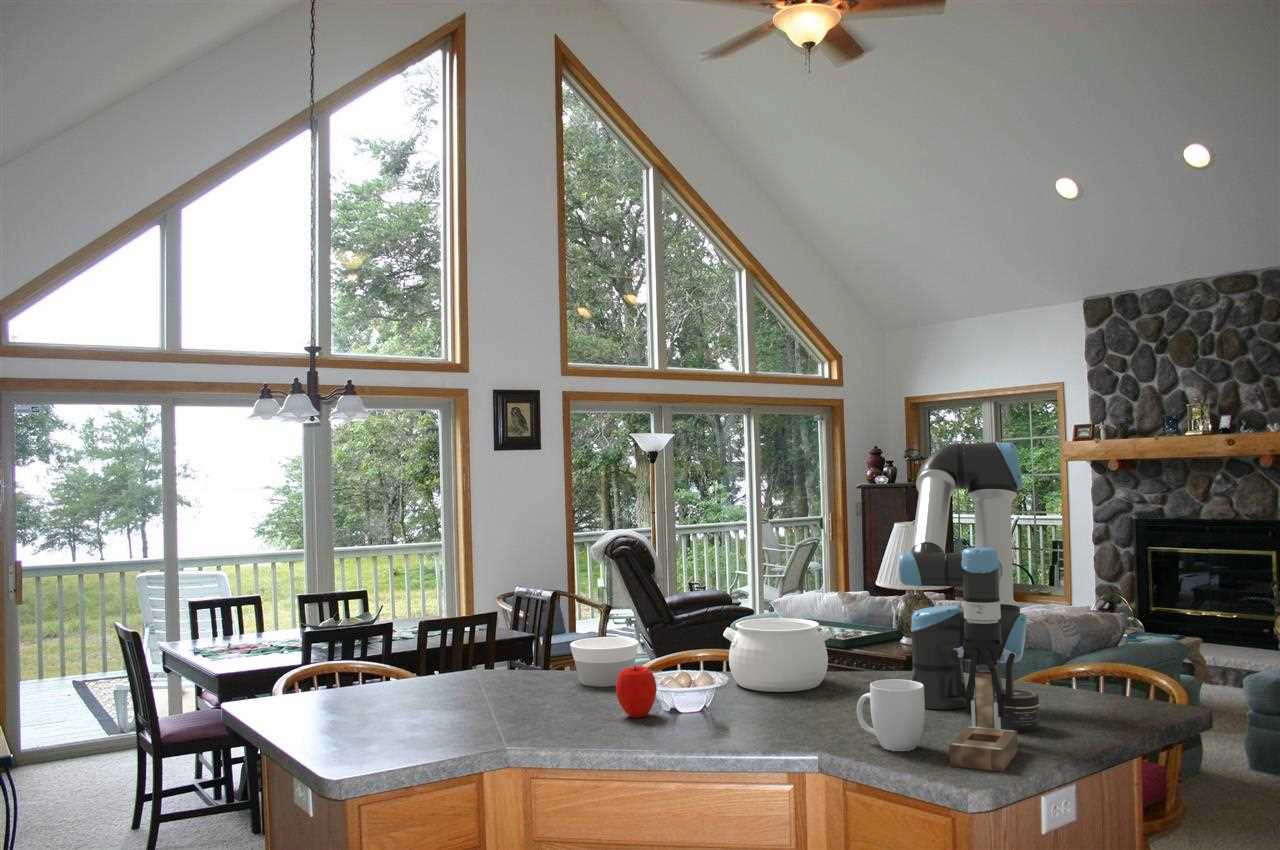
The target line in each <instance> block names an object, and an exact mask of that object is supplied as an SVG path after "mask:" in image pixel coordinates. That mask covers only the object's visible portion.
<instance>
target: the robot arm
mask: <svg viewBox="0 0 1280 850" xmlns="http://www.w3.org/2000/svg"><path fill="white" fill-rule="evenodd" d="M1017 448H1018V447H1016V445H1015V444H1014V443H1012V442H998V441H995V442H994V441H993V442H971V443H957V442H956V443H951V444H946V445H944V446H943V447H940V448H938V449H937V450H936V451H933V452H932V453H931V454H930V455H929V456H928V457H927V458H926V460H924V462H923V463H922V465H921V466H920V468H919V470H918V473H917V475H916V481H915V487H916V490H917V493H918V497H917V507H916V512H915V521H914V528H913V534H912V541H911V549H910V551H908V552H902V553H901V554H900V556H899V559H898V575H899V576H898V577H899V580H900V582H901V584H902V585H905V586H910V587H914V586H915V587H951V588H952V587H953V588H955V587H956V588H957V587H958V588H959V587H960V588H962V593H963V594H962V595H963V597H962V598H963V599H962V602H963V603H962V605H963V612H962V609H961V607H960V606H959V605H955V604H953V605H949V604H947V605H937V606H929V607H924V608H920V609H918V610H915V611H914V612H913V613H912V615H911V627H910V632H911V643H912V644H911V647H912V648H911V649H912V672H911V676H910V679H909V680H910V681H916V682H919V683H922V684H923V685H924V702H925V709H929V710H956V709H957V710H958V709H963V708H966V714H967V715H970V716H971V727H976V700H975V673H976V672H977V671H979V668H980V666H981V665H984V666H988V671H990V673H991V677H992V681H993V685H994V689H995V693H996V698H997V700H995V702H994V728H995V729H1001V723H1000V717H1004V716H1005V701H1007V700H1011V699H1012V698H1013V696H1014V689H1015V687H1014V686H1015V680H1014V679H1015V670H1014V669H1015V666H1014V665H1015V664H1014V663H1018V662H1020V661H1021V660H1022V659H1023V655H1024V652H1025V651H1024V649H1025V644H1026V643H1025V642H1026V635H1027V623H1028V622H1027V621H1028V618H1027V617H1028V616H1027V614H1026V613H1024V612H1021V605H1020V604H1019V603H1018V602H1016V601H1015V599H1014V575H1013V573H1014V572H1013V570H1014V567H1013V537H1012V533H1013V532H1012V502H1013V501H1014V500H1015V499H1016V498H1017V497H1018V490H1021V489H1023V488H1024V482H1023V477H1022V470H1021V466H1020V459H1019V453H1018V449H1017ZM956 490H967V494H968V495H967V496H968V498H970V499H971V500H972V501H973V502H974V540H975V541H974V542H975V543H974V544H975V546H974V547H966V548H964V549H963V550H962V552H959V553H958V552H946V543H947V536H948V534H947V533H948V524H949V514H950V505H951V497H952V496H953V495H954V493H955V491H956ZM963 662H970V666H969V674H968V679H967V682H966V679H965V673H964V663H963ZM998 663H999V664H1003V663H1005V689H1006V694H1004V691H1003V689H1004V687H1003V683H1002V680H1001V675H1000V671H999V664H998Z"/></svg>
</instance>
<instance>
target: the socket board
mask: <svg viewBox="0 0 1280 850" xmlns="http://www.w3.org/2000/svg"><path fill="white" fill-rule="evenodd" d="M1018 745H1019V743H1018V732H1017V731H1013V730H1003V729H992V728H981V727H972V725H971V726H969V725H967V726H965V728H963V730H962V731H961V732H960V733H959V734H958V735H957V736H956V737H955V738H954V739H953V740H952V742H950V743H949V745H948V746H949V747H948V750H949V753H948V754H949V766H951V767H959V768H967V769H976V770H984V771H985V770H986V771H992V772H993V771H994V772H1004V771H1005V770H1006V768H1007V767H1008V766H1009V764H1010V763H1011V761H1012V759H1014V757H1015V756H1016V754H1017V753H1018V751H1019V750H1018V749H1019V746H1018Z"/></svg>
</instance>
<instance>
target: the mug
mask: <svg viewBox="0 0 1280 850" xmlns="http://www.w3.org/2000/svg"><path fill="white" fill-rule="evenodd" d="M866 699H869V702H870V714H871V722H872V726H873V727H871V726H869V725H868V724H867V722H866V720H865V719H864V714H863V713H864V712H863V707H864V703H865V701H866ZM925 711H926V708H925V702H924V685H923V684H922V683H919V682H916V681H910V679H909V680H908V679H879V680H876V681H875V680H874V681H872V682H870V684H869V692H867V693H864V694H862V695H861V696H860V697H859V700H858V702H857V704H856V718H857V721H858V723H859V726H861V727H862V729H863V730H864V731H866V732H867V733H868V734H872V735H874V736H876V739H877V740H878V742H879V744H880V746H881V747H882V748H883V749H884V750H886V751H889V750H891V751H890V752H895V751H907V752H911V751H910V750H912V751H914V750H915V749H916V748H917V747H918V745H919V742H920V740H921V738H922V734H923V730H924V727H925V726H924V725H925V715H926V713H925ZM913 749H914V750H913Z"/></svg>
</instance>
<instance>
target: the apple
mask: <svg viewBox="0 0 1280 850" xmlns="http://www.w3.org/2000/svg"><path fill="white" fill-rule="evenodd" d="M657 690H658V689H657V682H656V677H655V675H654V674H653V671H652V670H651V669H650V668H649V667H647V666H643V665H641V666H640V665H638V666H636V664H634V667H631V668H626V669H623V670H622V671H621V672H620V673H619V676H618V678H617V682H616V686H615V692H616V698H617V700H618V703H619V705H620V707H621V708H622V710H623V711H624V712H625V714H626V715H627V716H629V717H632V718H634V719H638V718H639V719H641V718H644V717H646V716H647V715H648V714H649V713H650V712H651V709H652V708H653V706H654V704H655V702H656V701H655V700H656V696H657Z"/></svg>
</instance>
